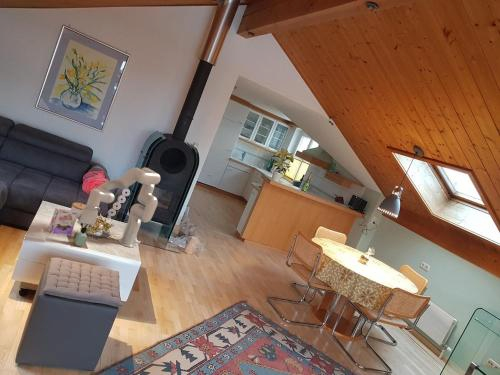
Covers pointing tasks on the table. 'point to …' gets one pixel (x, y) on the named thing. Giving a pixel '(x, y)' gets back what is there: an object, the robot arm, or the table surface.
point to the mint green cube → (80, 239)
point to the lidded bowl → (78, 208)
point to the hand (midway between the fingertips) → (82, 232)
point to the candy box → (62, 221)
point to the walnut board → (72, 243)
